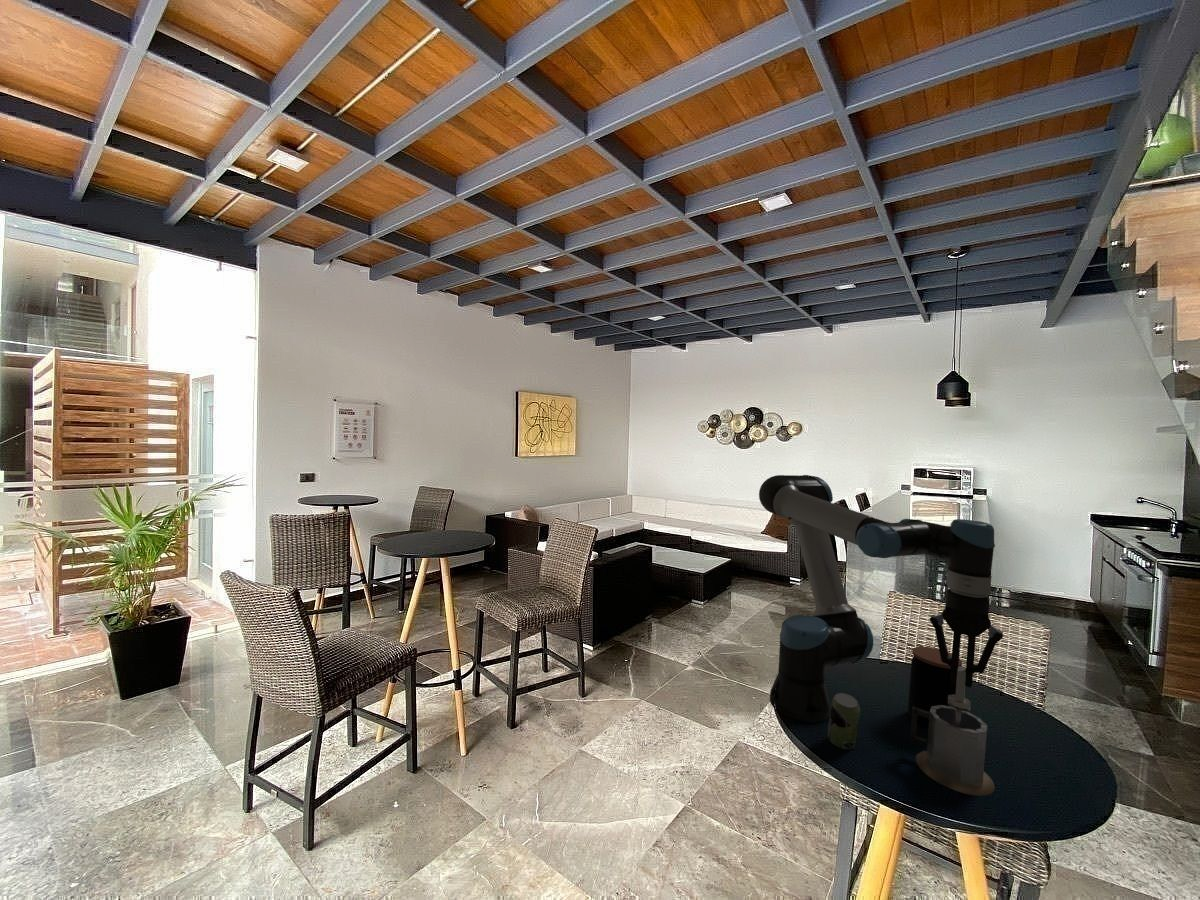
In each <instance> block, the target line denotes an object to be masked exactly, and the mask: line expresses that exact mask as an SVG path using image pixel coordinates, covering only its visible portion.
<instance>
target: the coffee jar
mask: <svg viewBox="0 0 1200 900" xmlns="http://www.w3.org/2000/svg"><path fill="white" fill-rule="evenodd" d="M911 651H912V652H911V653H912V655H913V656H912V659H911V662H910V675H909V677H910V678H909V689H908V701H907V702H908V703H907V714H908V717H909V718H910V719H911V716H912V707H913V706H914V707H916V708H919V709H922V710H925V711H928V712H930V709H931V707H932V706H937V705H944V706H950V705H949V704H948V695H956V683H953V682H951V680H950V674H951V667H950V666H949V665H948V664H946V663H943V662H942V661H941V656H940V652H939V648H935V647H930V646H915V647H913V648H912V650H911ZM948 655H949V657H950V658H952V652H949V651H948ZM962 664H963V661H962V659H961V658H960V657H959V664H958V666H959V667H963V665H962ZM917 725H919V726H920V727H922V728H924V729H926V730H928V728H929V718H926V717H923V716H920V715H917Z"/></svg>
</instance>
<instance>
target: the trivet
mask: <svg viewBox="0 0 1200 900" xmlns="http://www.w3.org/2000/svg"><path fill="white" fill-rule="evenodd" d="M926 754H927V750H923V751H920V752H918V753H917V754H916V756H915V762H916V764H917V766H918V767H919V769H920V770H921V771H922V772H923V773H924V774H925V775H927V776H928V777H929V778H930V779H932V780H933V781H935V782H937V783H938V784H940V785H942V786H944V787H946V788H948V789H950V790H953V791H955V792H958V793H959V792H960V793H962V794H966V795H971V796H976V797H978V796H979V797H980V796H981V797H983V796H989V795H991V794H992V793H993V794H994V792H995V783H994V781H993V780H992V778H991V777H990V776H989V775H988V773H986V772H985V771H984V774H983V786H982V787H979V788H975V789H971V788H965V787H959V786H957V785H954V784H952V783H949V782H947V781H944V780H943V779H941V778H940V777H939V776H937V775H936V774H934V773H933V772H932V771H931V770H930V769H929V767H928V766H927V765H926Z"/></svg>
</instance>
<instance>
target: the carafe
mask: <svg viewBox="0 0 1200 900" xmlns="http://www.w3.org/2000/svg"><path fill="white" fill-rule="evenodd" d="M955 713H956V708H953V707H952V706H944V705H937V706H932V707H931V709H930V712H928V711H925V710H922V709H919V708H916V707H914V706H913V707H912V716H911V718H910V729H909V730H910V731H909V741H911V742H913V743H917V744H918V745H921V746H923V747H926V751H927V754H926V765H927V766H928V767H929V769H930V770H931V771H932V772H933V773H934V774H936V775H937V776H939V777H940V778H941V779H943V780H944V781H947V782H949V783H952V784H954V785H957V786H959V787H965V788H971V789H975V788H979V787H982V786H983V774H984V772H985V771H984V770H985V759H986V746H987V734H988V725H987V723H986V722H984V721H983V719H981V718H980V717H978V716H977V715H975V714H972V713H970V712H969V711H962V710H961V723H960V727H957V726H954V725H955ZM917 715H920V716H923V717H926V718H929V728H928V729H927V731H928V732H927V738H924V737H921V736H918V735H917V728H918V727H917V725H918V724H917Z"/></svg>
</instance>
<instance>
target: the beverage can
mask: <svg viewBox="0 0 1200 900" xmlns="http://www.w3.org/2000/svg"><path fill="white" fill-rule="evenodd" d="M830 701H831V702H830V706H831V709H830V717H829V718H828V725H827V738H828V741H829V742H830V743H831V744H832V745H834V746H835V747H836V748H839V749H842V750H853V749H854V748H855V747H856V745H857V744H856V742H857V737H858V736H857V735H858V728H859V722H860V721H859V720H860V714H861V708H860V705H859V702H858V700H857V698H855V696H852V695H851V694H848V693H846V692H837V693H836V694H834V696H833V697H832V699H831V700H830Z"/></svg>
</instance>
